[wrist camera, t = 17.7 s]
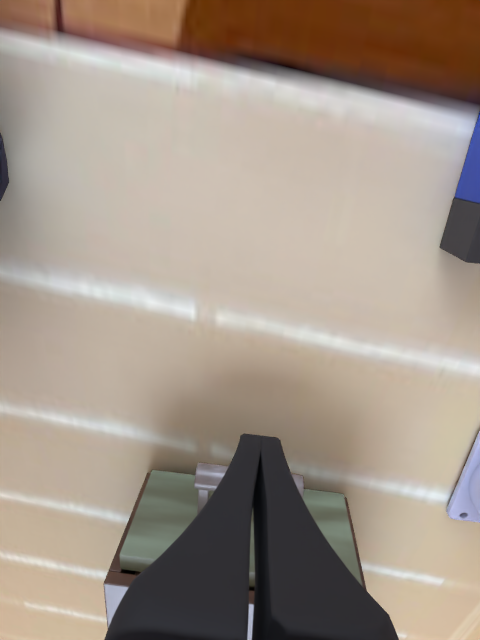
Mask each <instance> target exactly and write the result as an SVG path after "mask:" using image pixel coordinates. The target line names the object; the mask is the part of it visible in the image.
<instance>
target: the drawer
mask: <svg viewBox="0 0 480 640" xmlns="http://www.w3.org/2000/svg"><path fill="white" fill-rule="evenodd" d="M228 467H229V466H224V465H216V464H208V463H200V462H199V463H198V464H197V468H196V473H195V475H190V474H182V473H174V472H166V471H158V470H152V471H151V474H150V477H149V479H148V482H147V484H146V487H145V490H144V492H143V495H142V497H141V500H140V503H139V505H138V508H137V510H136V513H135V516H134V518H133V521H132V523H131V526H130V529H129V531H128V534H127V536H126V539H125V542H124V544H123V547H122V549H121V552H120V569H125V570H132V571H136V572H135V575H139V574H140V573H141V572H142V571H144V570H145V569H146V568H147V567H148V566H149V565H150V564H152V563H153V562H154V561H155V560H156V559H157V558H158V557H159V556H160V555H161V554H162V553H163V552H164V551H165V550H166V549H167V548H168V547H169V546H170V545H171V544H172V543H173V542H174V541H175V540H176V539H177V538H178V537H179V536H180V535H181V534H182V533H183V532H184V530H185V529H186V528H187V527H188V526H189V525H190V523H191V522H192V521H193V520H194V519H195V517H196V516H197V515H198V514H199V512H200V511H201V510H202V508H203V507H204V506H205V504H206V503H207V501H208V500H209V499H210V497H211V496H212V494H213V493H214V491H215V489H216V488H217V486H218V485H219V483H220V481H221V480H222V478H223V476H224V475H225V473H226V471H227V469H228ZM292 477H293V479H294V481H295V483H296V486H297V488H298V490H299V492H300V494H301V496H302V498H303V500H304V502H305V504H306V506H307V508H308V510H309V512H310V513H311V515H312V517H313V519H314V520H315V522H316V524H317V525H318V527H319V528H320V530H321V532H322V533H323V535H324V536H325V538H326V539H327V541H328V542H329V544H330V545H331V547H332V548H333V549H334V551H335V552H336V553H337V555H338V556H339V557H340V559H341V560H342V561H343V563H344V564H345V565H346V567H347V568H348V569H349V571H350V572H351V573H352V574H353V576H354V577H355V578H356V579H357V580H358V582H359V583H360V584H361V585H362V581H361V576H360V571H359V566H358V561H357V557H356V552H355V547H354V542H353V537H352V533H351V528H350V523H349V518H348V513H347V509H346V504H345V499H344V494H342V493H334V492H326V491H318V490H310V489H304V479H303V476H302V475H297V474H292ZM249 590H250V591H254V590H255V559H254V523H253V511H252V517H251V537H250V567H249Z"/></svg>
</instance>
